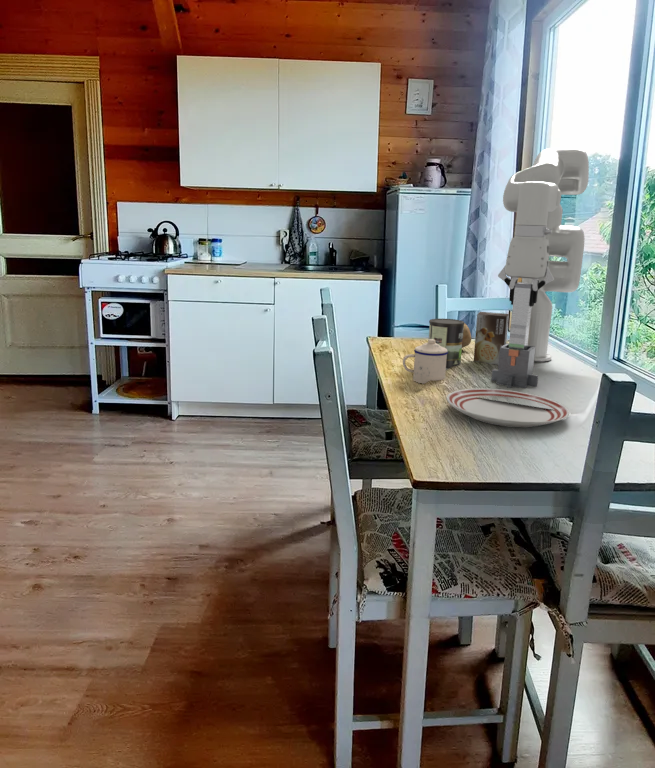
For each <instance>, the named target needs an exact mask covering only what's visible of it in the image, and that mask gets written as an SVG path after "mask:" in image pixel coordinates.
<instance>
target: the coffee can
mask: <svg viewBox="0 0 655 768" xmlns="http://www.w3.org/2000/svg"><path fill="white" fill-rule="evenodd" d="M464 323H465V321H464V320H460V319H455V318H432V319H429V327H428V340H429V339H434V340H435V343H436V344H439V345H440V346H441V347H444V348H446V349H447V351H448V354H447V359H446V371H448V370H450V369H451V368H453V367H457V366H460V365H461V364H462V363H461V362H462V350H463V348H462V341H463V328H464Z"/></svg>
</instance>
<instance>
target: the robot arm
mask: <svg viewBox="0 0 655 768" xmlns="http://www.w3.org/2000/svg"><path fill="white" fill-rule="evenodd" d="M589 164H590V161H589V158H588V154H587V152H586V151H585V150H584V149H583V148H581V147H561V148H560V147H551V148H550V147H549V148H546V149H543V150H542V151H540V152H539V153H538V154H537V155H536V157H535V159H534V161H533V163H532V166H530V167H528V168H525V169H523V170H520V171H517V172H515V173H514V174H512V175H511V176H510V177H509V179H508V181H507V182H506V185H505V188H504V190H503V191H504V192H503V195H502V202H503V203H502V204H503V207H504V209H505V210H506V211H508V212H511V213H516V219H515V227H514V228H515V229H514V237H511V239H510V242H509V247H508V250H507V255H506V261H505V265H504V267H503V268H502V269H501V271H499V273H498V274H497V277H498V278H499V279H501V281H503V282H504V283H505V284H506V285H507V287H508V288H509V290H510V291H509V299H508V300H509V302H510V305H511V306H513V300H514V290H515V283H518V281H519V279H521V283H532V285H533V288H532V291H531V294H530V303H529V306H531V307H532V308H531V317H530V326H529V335H528V344H527V346H535V355H534V363H536V362H537V363H538V362H540V363H542V362H549V361H552V355H551V354H549V353H548V346H549V340H550V339H549V338H550V331H551V321H552V313H553V303H552V301H551V299H550V297H549V296H548V295H547V293H546V292H557V293H573V292H576V291H577V289H578V288H579V285H580V281H581V274H582V267H583V266H582V265H583V259H584V249H585V241H586V240H585V239H586V238H585V233H584V230H583V229H582V228H581V227H579V226H576V225H575V226H574V225H562V219H563V206H562V204H561V201H562V195H563V196H564V195H565V196H577V195H581V194H583V193H584V192H585V190H587V188H588V184H589V176H590V175H589V173H590V172H589V168H590V166H589ZM550 257H559V258H565V259H566V260H567V261H565V260H564V261H563V260H562V261H561V260H555V261H554V260H550Z"/></svg>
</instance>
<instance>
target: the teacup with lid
mask: <svg viewBox="0 0 655 768" xmlns="http://www.w3.org/2000/svg"><path fill="white" fill-rule="evenodd" d="M413 352H414V354H411V353H410V354H406V355H405V356H404V357H403V359H402V366H403V368H404V370H406V372H409V373H413V377H412V378H413V379H412V380H413V381H414V382H415V381H416V382H415V383H417V382H418V383H417V384H420V383H422V385H425V384H426V383H428V382H430V381H442V380H445V378H446V371H447V370H446V359H447V354H448V351H447V349H446V348H444V347H441V346H440V345H439V344H436V343H435V340H434V339H429V338H428V339H427V342H425V343H422V344H421V345H418V346H416V347H414V349H413ZM409 358H414V363H413V369H411V368H408V366H407V365H406V360H407V359H409Z"/></svg>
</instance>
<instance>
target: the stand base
mask: <svg viewBox="0 0 655 768" xmlns="http://www.w3.org/2000/svg"><path fill="white" fill-rule="evenodd" d="M534 355H535V346H527V350H520V349H512V348H509V342H506V344H505V345H503V346H502V347H500V353H499V363H498V365H497V369H492V371H491V381H495V382H496V385H501V386H506V388H507V389H512V388H513V387H514V388H515V387H516V388H519V389H527V388H528V386H529V387H537V388H538V383H539V375H537V374H533V372H534V363H535V361H534Z"/></svg>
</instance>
